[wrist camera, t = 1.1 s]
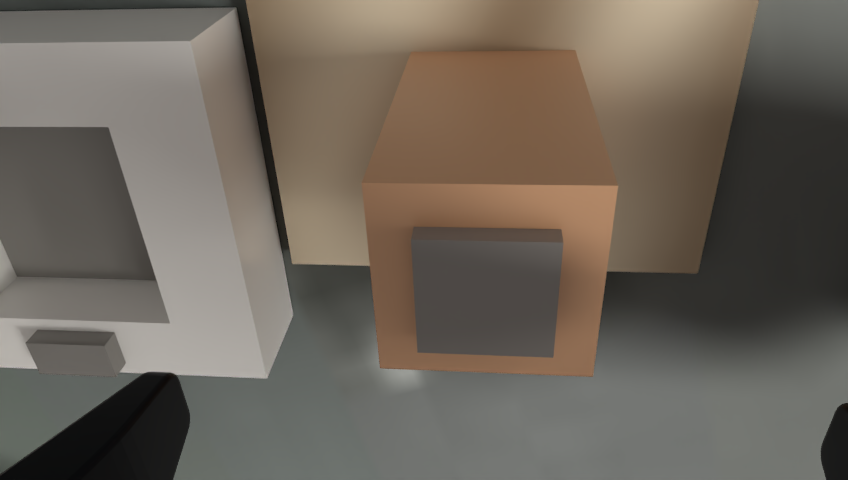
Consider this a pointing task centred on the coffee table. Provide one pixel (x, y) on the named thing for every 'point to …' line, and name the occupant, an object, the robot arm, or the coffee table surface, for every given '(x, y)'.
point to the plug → (490, 216)
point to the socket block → (135, 197)
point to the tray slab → (506, 31)
